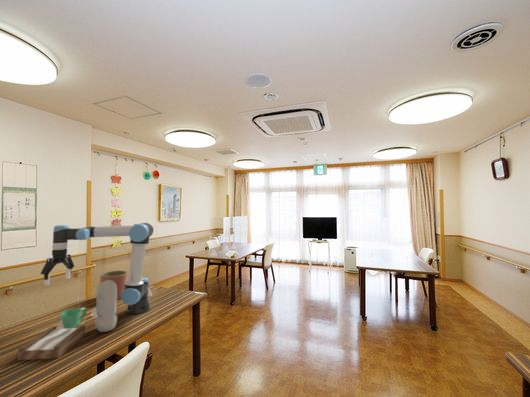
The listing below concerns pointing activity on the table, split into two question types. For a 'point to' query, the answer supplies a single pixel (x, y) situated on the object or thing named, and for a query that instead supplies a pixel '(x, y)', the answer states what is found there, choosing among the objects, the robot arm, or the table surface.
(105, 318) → the sculpture
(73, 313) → the mug
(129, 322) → the table surface
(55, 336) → the brown rectangular tray
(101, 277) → the planter
